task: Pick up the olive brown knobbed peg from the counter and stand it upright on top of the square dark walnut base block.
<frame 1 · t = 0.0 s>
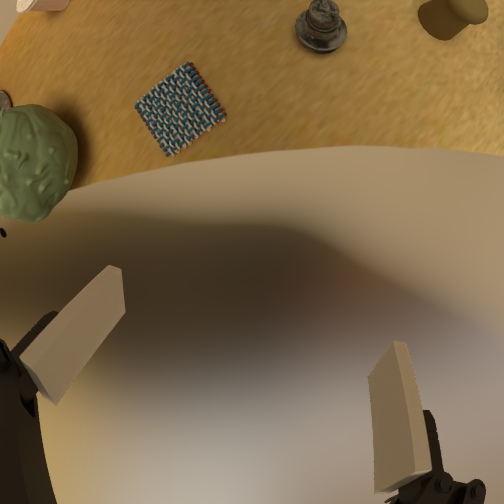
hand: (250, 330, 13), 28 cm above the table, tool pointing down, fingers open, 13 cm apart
green monster head: (67, 149, 41), on the table
olive brown knobbed peg: (436, 21, 22), on the table
salt shaker: (320, 36, 28), on the table
supplement tub: (0, 122, 40), on the table
woven mat: (181, 109, 36), on the table
smoothie: (64, 2, 27), on the table
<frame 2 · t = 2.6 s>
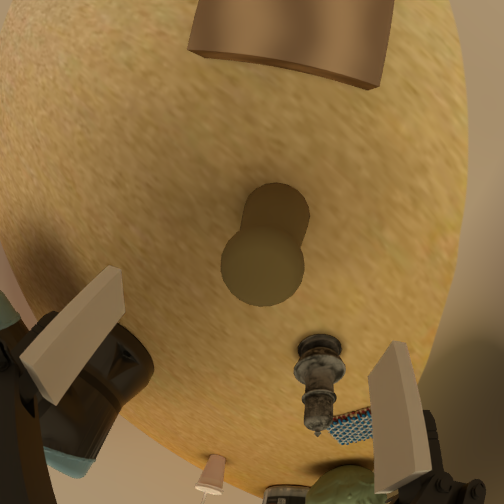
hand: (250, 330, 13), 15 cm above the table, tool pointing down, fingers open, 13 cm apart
green monster head: (346, 466, 50), on the table
olive brown knobbed peg: (276, 214, 26), on the table
walnut base: (299, 0, 17), on the table
salt shaker: (319, 348, 33), on the table
supplement tub: (291, 489, 63), on the table
woven mat: (359, 420, 41), on the table
smoothie: (218, 456, 55), on the table
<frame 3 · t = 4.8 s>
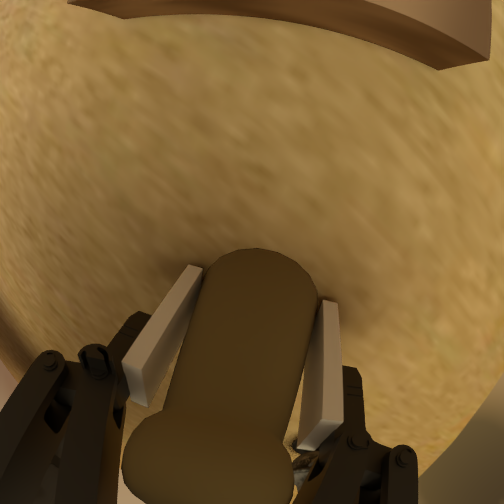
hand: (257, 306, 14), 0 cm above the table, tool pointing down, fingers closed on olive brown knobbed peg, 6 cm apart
olive brown knobbed peg: (259, 299, 15), on the table, touching gripper
salt shaker: (320, 443, 22), on the table
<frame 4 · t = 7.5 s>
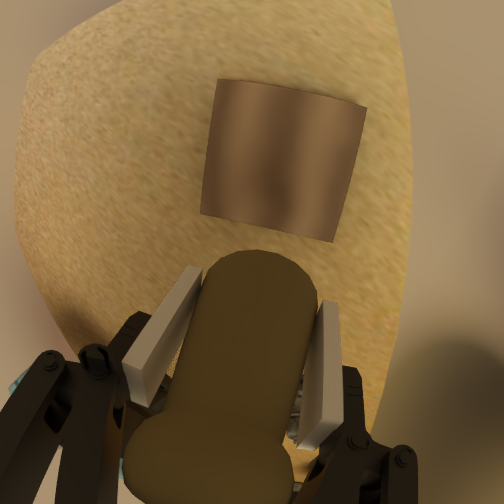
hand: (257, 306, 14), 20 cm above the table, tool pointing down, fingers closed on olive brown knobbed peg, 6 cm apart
olive brown knobbed peg: (259, 300, 15), point 19 cm above the table, touching gripper
walnut base: (281, 154, 30), on the table
salt shaker: (300, 383, 46), on the table
supplement tub: (290, 486, 75), on the table
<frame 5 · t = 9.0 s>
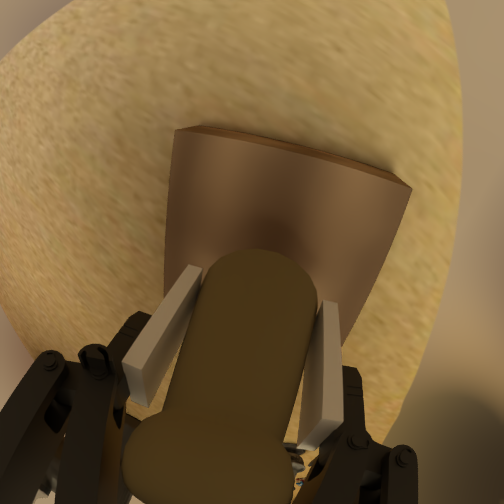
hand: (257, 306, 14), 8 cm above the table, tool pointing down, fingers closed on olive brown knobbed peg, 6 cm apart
olive brown knobbed peg: (259, 299, 15), point 8 cm above the table, touching gripper
walnut base: (275, 236, 22), on the table
salt shaker: (289, 448, 38), on the table
when the fingers open (6 cm above the table, at t = 10.2 s): olive brown knobbed peg drops 1 cm, resting on walnut base.
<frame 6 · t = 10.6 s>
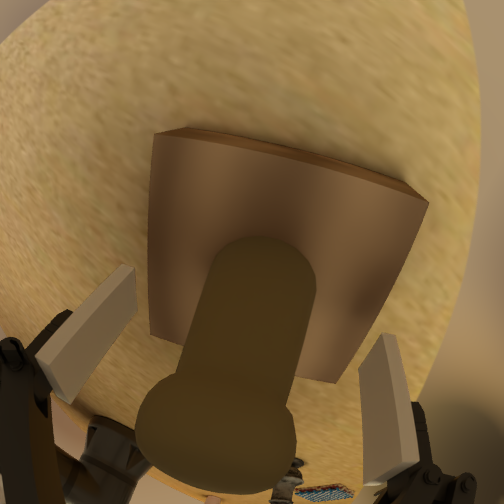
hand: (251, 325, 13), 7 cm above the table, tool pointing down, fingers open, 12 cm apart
olive brown knobbed peg: (262, 284, 16), point 4 cm above the table, touching walnut base
walnut base: (271, 252, 19), on the table
salt shaker: (287, 461, 36), on the table
woven mat: (326, 488, 43), on the table
smoothie: (214, 496, 58), on the table
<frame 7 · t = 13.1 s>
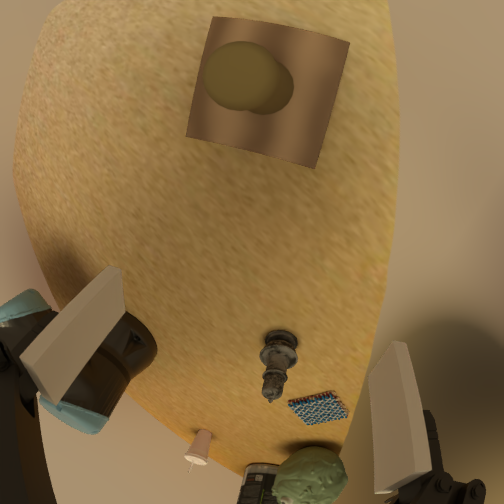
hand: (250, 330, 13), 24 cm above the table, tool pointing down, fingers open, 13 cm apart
green monster head: (314, 447, 63), on the table
olive brown knobbed peg: (263, 86, 25), point 4 cm above the table, touching walnut base
walnut base: (269, 88, 28), on the table
salt shaker: (281, 341, 45), on the table
supplement tub: (269, 469, 76), on the table
woven mat: (319, 404, 53), on the table
smoothie: (205, 431, 68), on the table
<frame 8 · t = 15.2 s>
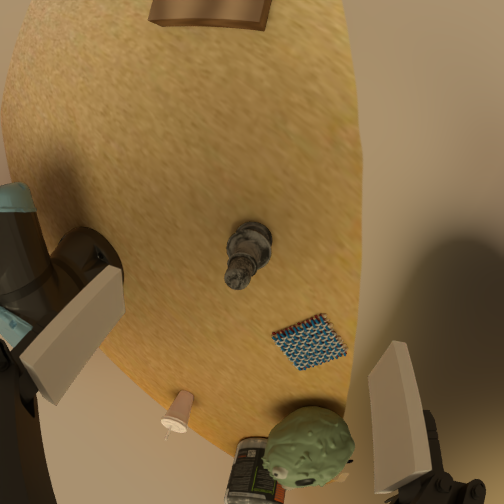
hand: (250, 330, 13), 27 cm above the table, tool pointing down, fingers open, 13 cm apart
green monster head: (312, 409, 58), on the table
salt shaker: (253, 238, 41), on the table
supplement tub: (265, 445, 71), on the table
woven mat: (311, 339, 48), on the table
smoothie: (186, 394, 63), on the table
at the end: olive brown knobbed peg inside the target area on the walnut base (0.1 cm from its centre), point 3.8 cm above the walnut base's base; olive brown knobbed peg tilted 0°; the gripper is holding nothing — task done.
